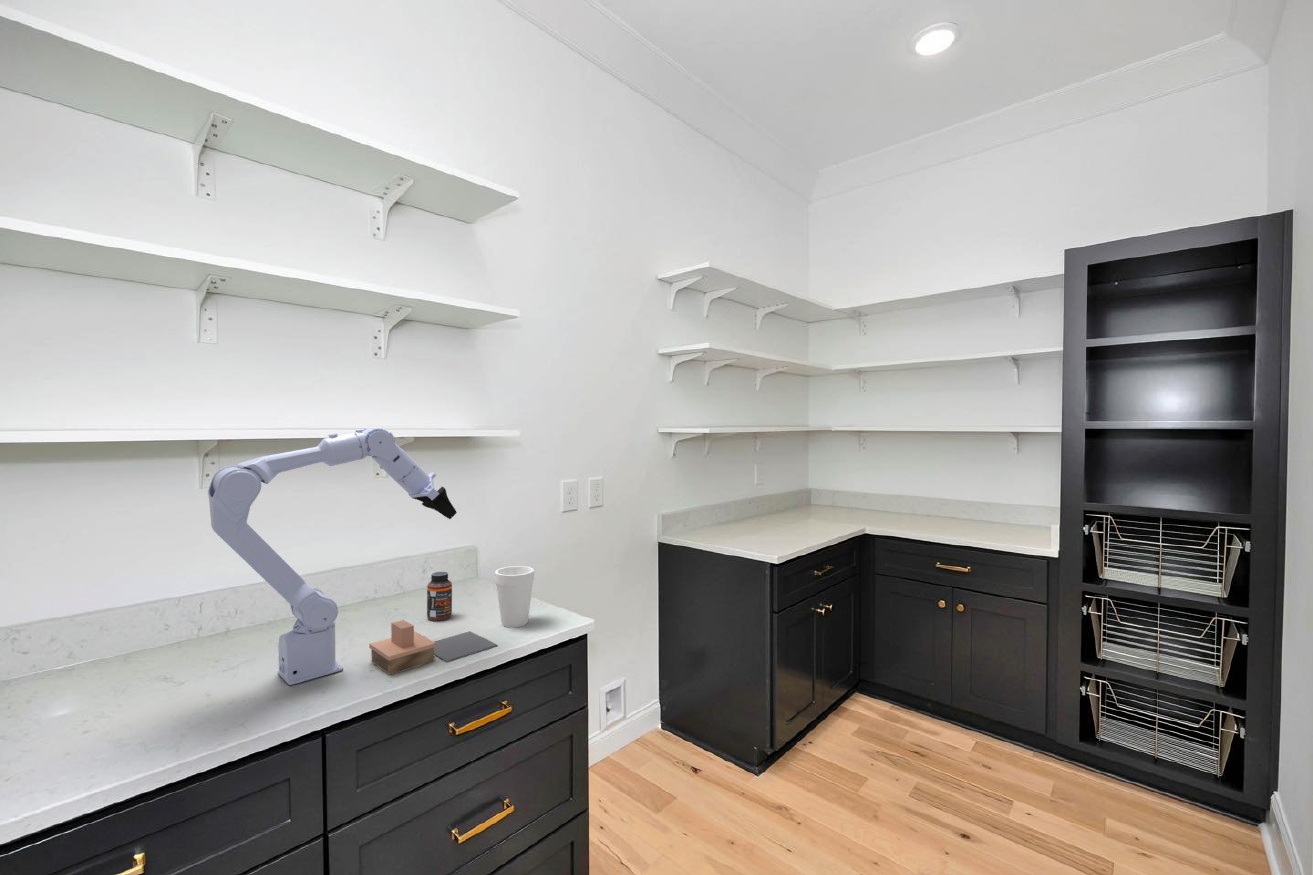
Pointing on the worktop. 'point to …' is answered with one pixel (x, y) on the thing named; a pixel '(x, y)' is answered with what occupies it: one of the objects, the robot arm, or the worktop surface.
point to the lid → (401, 642)
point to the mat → (461, 646)
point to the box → (403, 661)
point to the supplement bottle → (439, 597)
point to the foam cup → (514, 594)
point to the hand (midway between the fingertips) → (447, 512)
